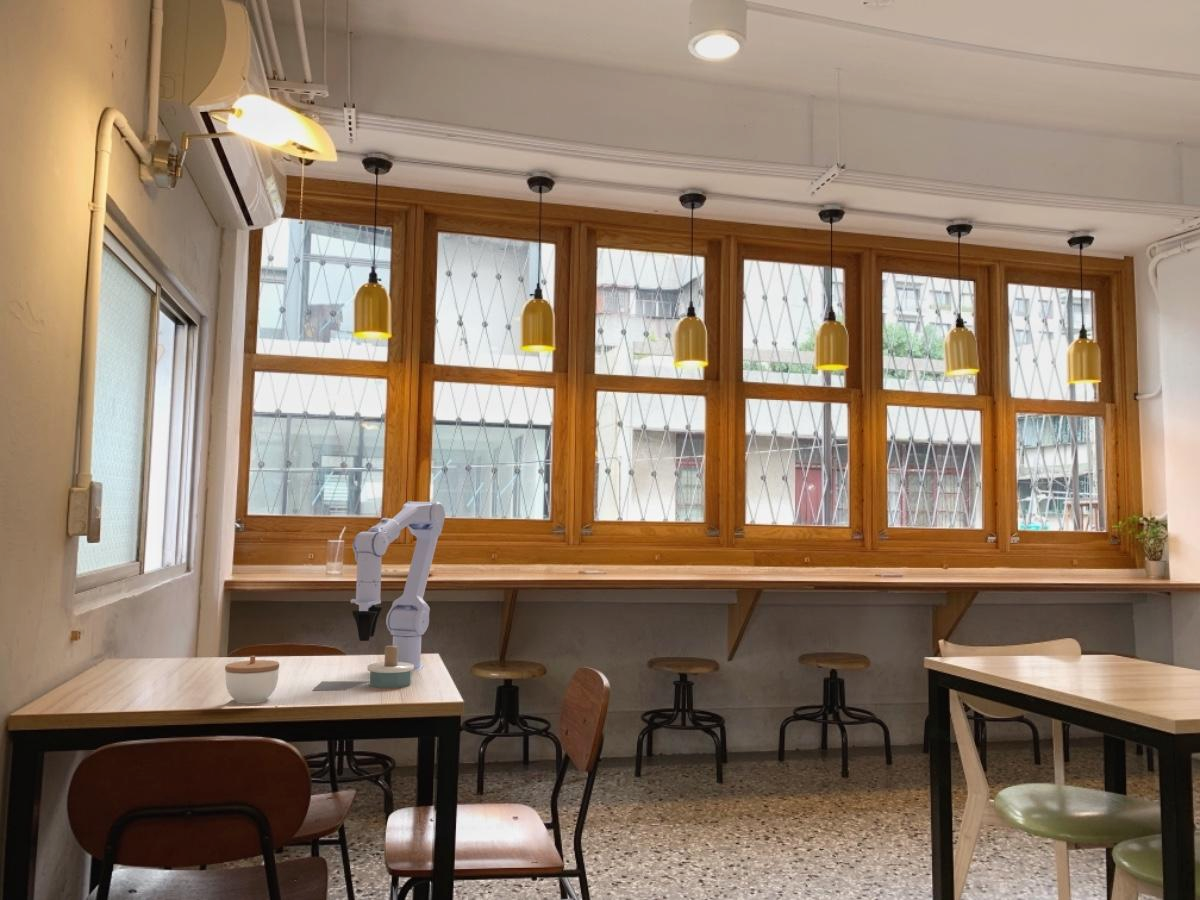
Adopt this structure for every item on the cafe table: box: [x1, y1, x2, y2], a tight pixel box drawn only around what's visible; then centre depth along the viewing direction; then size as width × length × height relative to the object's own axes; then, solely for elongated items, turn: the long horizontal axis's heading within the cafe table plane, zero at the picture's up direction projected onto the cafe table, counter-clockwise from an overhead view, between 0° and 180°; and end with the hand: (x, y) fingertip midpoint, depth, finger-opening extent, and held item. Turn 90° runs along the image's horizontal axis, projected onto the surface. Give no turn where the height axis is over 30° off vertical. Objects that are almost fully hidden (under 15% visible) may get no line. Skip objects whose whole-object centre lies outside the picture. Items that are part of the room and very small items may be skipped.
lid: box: [367, 645, 414, 673], centre depth 212 cm, size 10×10×5 cm
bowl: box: [369, 670, 413, 689], centre depth 212 cm, size 9×9×4 cm
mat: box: [311, 680, 370, 692], centre depth 209 cm, size 11×11×1 cm
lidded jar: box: [224, 655, 280, 704], centre depth 193 cm, size 11×11×9 cm
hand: (366, 638), depth 219 cm, fingers open, 7 cm apart
